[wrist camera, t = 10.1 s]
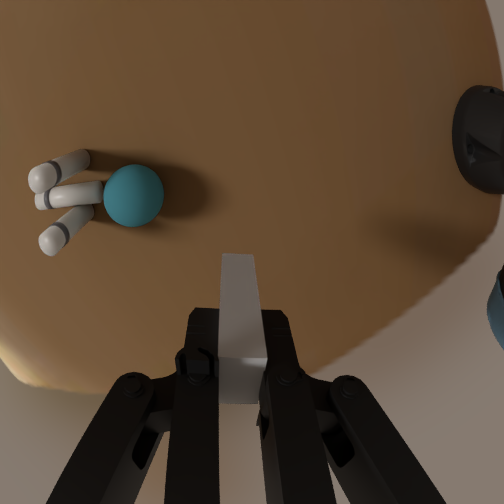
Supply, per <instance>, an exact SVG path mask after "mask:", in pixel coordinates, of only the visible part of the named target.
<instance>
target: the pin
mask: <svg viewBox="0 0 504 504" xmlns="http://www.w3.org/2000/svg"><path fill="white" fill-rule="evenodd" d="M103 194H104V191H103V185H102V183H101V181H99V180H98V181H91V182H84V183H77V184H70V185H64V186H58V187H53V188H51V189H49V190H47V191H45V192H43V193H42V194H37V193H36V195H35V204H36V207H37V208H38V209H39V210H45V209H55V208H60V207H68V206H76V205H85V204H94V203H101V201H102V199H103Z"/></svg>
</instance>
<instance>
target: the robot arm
mask: <svg viewBox="0 0 504 504" xmlns="http://www.w3.org/2000/svg"><path fill="white" fill-rule="evenodd" d="M452 141H453V150H454V155H455V159H456V162H457V165H458V168H459V170H460V172H461V174H462V175H463V177H464V178H465V180H466V181H467V182H468V183H469V184H470V185H472V186H474V187H476V188H477V189H479V190H481V191H483V192H486V193H492V194H504V91H502V90H500V89H498V88H495V87H492V86H483V85H477V86H473V87H471V88H469V89H468V90H467V91H466V92H465V93H464V94H463V95H462V97H461V98H460V100H459V102H458V104H457V107H456V110H455V114H454V119H453V127H452ZM487 316H488V320H489V322H490V326H491V329H492V331H493V333H494V336H495V337H496V339H497V341H498V342H499V344H500V345H501V347H502V348H503V350H504V265H503V267H502V270H500V272H498V274H497V280H496V283H495V285H494V288H493V290H492V292H491V294H490V296H489V299H488V303H487ZM175 363H176V370H177V371H176V372H175V373H173V374H171V375H169V376H167V377H163V378H157V379H150V378H149V377H148V376H146V375H144V374H142V373H137V372H131V373H126V374H124V375H122V376H120V377H119V378H118V379H117V380H116V382H115V383H114V385H113V386H112V388H111V390H110V391H109V393H108V394H107V396H106V398H105V400H104V401H103V403H102V404H101V406H100V408H99V409H98V411H97V413H96V414H95V416H94V418H93V420H92V421H91V423H90V424H89V426H88V428H87V430H86V431H85V433H84V435H83V436H82V438H81V440H80V442H79V443H78V445H77V447H76V449H75V450H74V452H73V454H72V456H71V458H70V459H69V461H68V463H67V465H66V467H65V468H64V471H63V472H62V474H61V476H60V478H59V480H58V481H57V483H56V485H55V487H54V489H53V491H52V493H51V495H50V497H49V499H48V501H47V502H46V504H134V502H135V500H136V498H137V495H138V493H139V490H140V488H141V485H142V483H143V481H144V479H145V476H146V474H147V471H148V469H149V467H150V464H151V462H152V460H153V457H154V455H155V452H156V450H157V448H158V445H159V443H160V441H161V439H162V436H163V434H164V432H167V431H170V439H169V448H168V459H167V471H166V484H165V498H164V504H220V493H219V403H227V404H229V403H230V404H258V400H259V404H260V410H259V414H258V419H257V424H256V426H259V428H260V439H261V449H262V460H263V471H264V481H265V491H266V501H267V504H337V503H336V498H335V494H334V489H333V484H332V480H331V475H330V471H329V467H328V463H329V465H330V467H331V469H332V471H333V472H334V474H335V476H336V478H337V480H338V482H339V484H340V485H341V487H342V489H343V491H344V493H345V495H346V496H347V498H348V500H349V502H350V504H446V502H445V501H444V499H443V498H442V496H441V495H440V493H439V492H438V490H437V489H436V487H435V486H434V484H433V483H432V481H431V480H430V478H429V477H428V475H427V474H426V472H425V471H424V469H423V468H422V466H421V465H420V463H419V462H418V460H417V459H416V457H415V456H414V454H413V453H412V451H411V450H410V449H409V447H408V445H407V444H406V443H405V441H404V440H403V438H402V437H401V435H400V434H399V432H398V431H397V430H396V428H395V427H394V425H393V424H392V422H391V421H390V419H389V418H388V416H387V415H386V414H385V412H384V411H383V409H382V408H381V406H380V405H379V403H378V402H377V401H376V399H375V398H374V396H373V395H372V393H371V392H370V390H369V389H368V388H367V386H366V385H365V384H364V383H363V382H362V381H361V380H360V379H358V378H356V377H354V376H349V375H344V376H339V377H337V378H336V379H335V380H334V381H333V382H328V381H323V380H318V379H315V378H312V377H310V376H309V375H307V374H306V373H305V371H304V370H303V369H302V368H300V366H299V363H298V359H297V355H296V350H295V346H294V342H293V338H292V334H291V330H290V326H289V321H288V318H287V317H286V316H285V314H284V313H283V312H282V311H281V310H261V308H260V301H259V294H258V287H257V279H256V272H255V265H254V258H253V255H248V254H229V253H222V268H221V288H220V309H214V308H196V307H195V309H194V310H193V311H192V312H191V314H190V315H189V319H188V326H187V332H186V338H185V344H184V348H182V349H181V350H180V351H179V352H178V353H177V355H176V357H175ZM327 461H328V462H327Z"/></svg>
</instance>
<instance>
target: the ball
mask: <svg viewBox="0 0 504 504" xmlns="http://www.w3.org/2000/svg"><path fill="white" fill-rule="evenodd" d="M103 197H104V205H105V208H106V210H107V212H108V214H109V215H110V217H111V218H112V219H113V220H114V221H116V222H117V223H119V224H121V225H123V226H127V227H138V226H142V225H144V224H146V223H148V222H150V221H151V220H152V219H153V218H154V217H155V216H156V215H157V214H158V213H159V211H160V209H161V207H162V204H163V200H164V189H163V185H162V182H161V180H160V178H159V177H158V175H157V174H156V173H155V172H154V171H152V170H151V169H150V168H148V167H145V166H142V165H128V166H124V167H122V168H120V169H118V170H117V171H116V172H115V173H113V174H112V176H111V177H110V178H109V180H108V181H107V183H106V186H105V189H104V196H103Z"/></svg>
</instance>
